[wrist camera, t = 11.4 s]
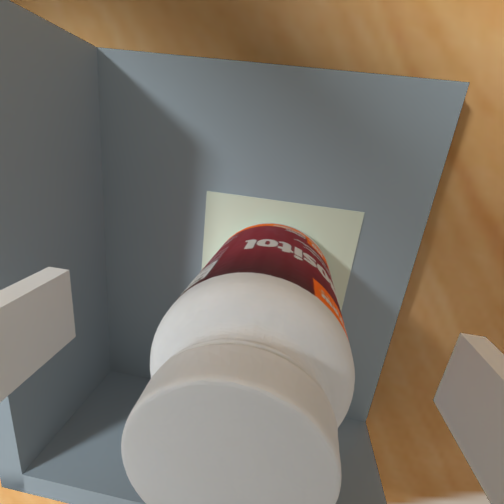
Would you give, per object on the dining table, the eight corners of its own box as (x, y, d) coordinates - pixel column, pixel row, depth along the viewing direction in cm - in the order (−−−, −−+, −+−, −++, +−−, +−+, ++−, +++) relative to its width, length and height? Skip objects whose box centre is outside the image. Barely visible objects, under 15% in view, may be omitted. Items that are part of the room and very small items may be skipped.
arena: (89, 52, 16) (-113, -46, 8) (455, 88, 14) (653, 6, 6) (105, 370, 22) (2, 487, 14) (357, 420, 20) (395, 584, 13)
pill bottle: (353, 265, 16) (464, 478, 5) (283, 343, 18) (265, 608, 7) (256, 194, 15) (173, 280, 5) (195, 283, 17) (46, 476, 7)
